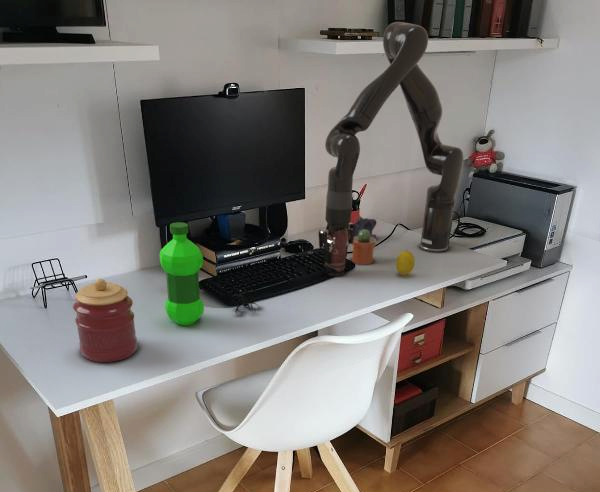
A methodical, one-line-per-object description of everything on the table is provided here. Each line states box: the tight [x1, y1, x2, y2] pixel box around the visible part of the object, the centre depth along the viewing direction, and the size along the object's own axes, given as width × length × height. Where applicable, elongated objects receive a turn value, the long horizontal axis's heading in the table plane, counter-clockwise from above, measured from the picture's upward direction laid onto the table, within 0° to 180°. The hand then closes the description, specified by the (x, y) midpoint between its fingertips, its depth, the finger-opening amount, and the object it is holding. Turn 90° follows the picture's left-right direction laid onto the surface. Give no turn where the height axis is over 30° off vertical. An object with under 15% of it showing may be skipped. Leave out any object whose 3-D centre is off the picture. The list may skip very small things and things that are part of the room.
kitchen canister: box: [72, 278, 138, 363], centre depth 149 cm, size 13×13×18 cm
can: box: [324, 229, 348, 277], centre depth 198 cm, size 6×6×14 cm
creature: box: [227, 287, 260, 317], centre depth 174 cm, size 8×5×8 cm
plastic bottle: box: [158, 221, 205, 326], centre depth 162 cm, size 10×10×25 cm
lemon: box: [395, 249, 415, 276], centre depth 199 cm, size 6×6×8 cm
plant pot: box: [351, 229, 377, 265], centre depth 209 cm, size 8×8×10 cm
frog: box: [354, 217, 377, 240], centre depth 229 cm, size 10×12×8 cm
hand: (335, 260), depth 199 cm, fingers open, 6 cm apart
